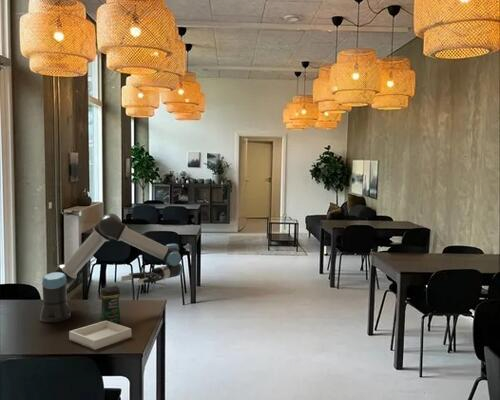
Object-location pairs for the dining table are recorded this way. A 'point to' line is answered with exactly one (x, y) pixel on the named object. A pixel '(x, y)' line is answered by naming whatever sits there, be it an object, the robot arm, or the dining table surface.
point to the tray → (100, 334)
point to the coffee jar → (110, 304)
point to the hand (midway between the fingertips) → (129, 280)
